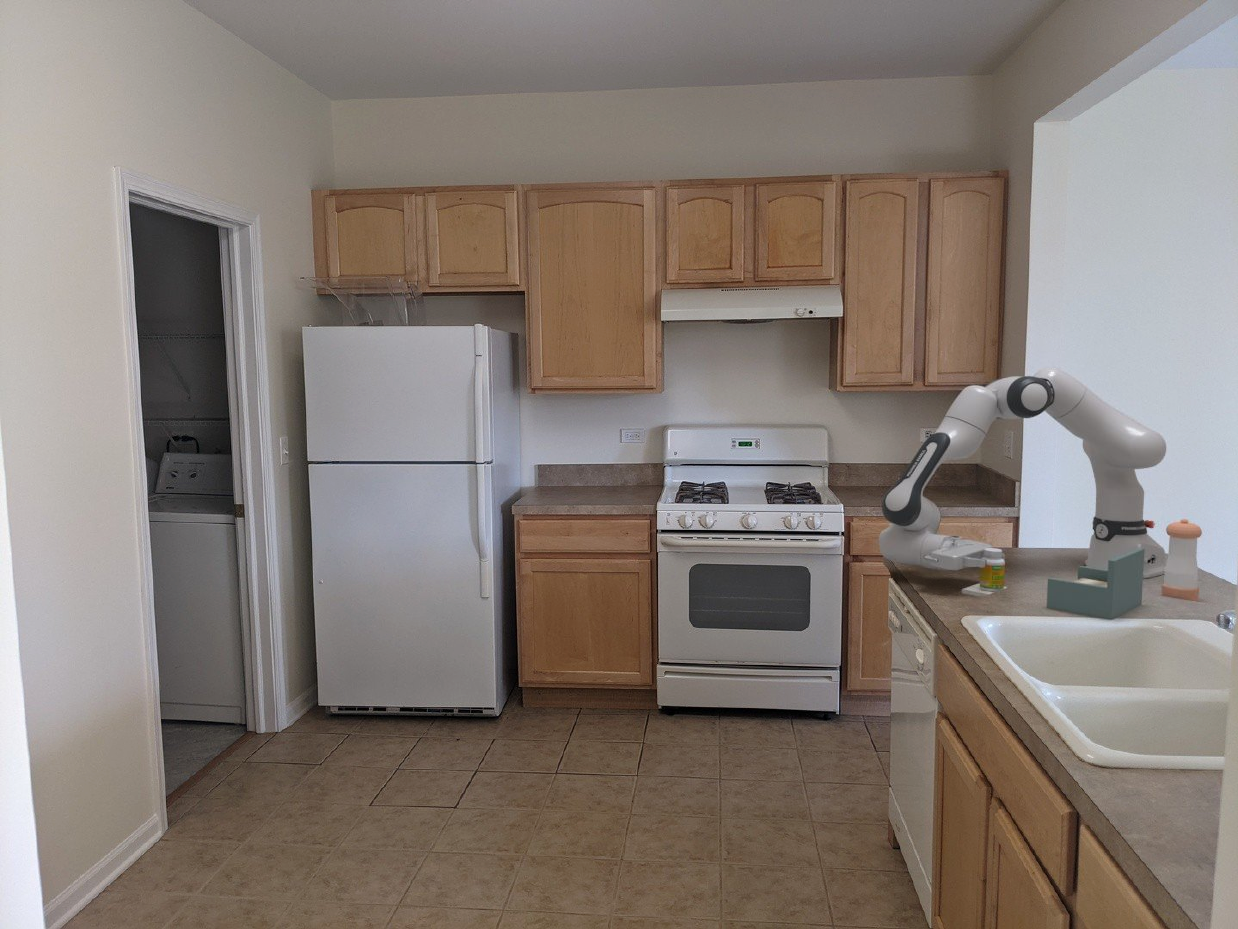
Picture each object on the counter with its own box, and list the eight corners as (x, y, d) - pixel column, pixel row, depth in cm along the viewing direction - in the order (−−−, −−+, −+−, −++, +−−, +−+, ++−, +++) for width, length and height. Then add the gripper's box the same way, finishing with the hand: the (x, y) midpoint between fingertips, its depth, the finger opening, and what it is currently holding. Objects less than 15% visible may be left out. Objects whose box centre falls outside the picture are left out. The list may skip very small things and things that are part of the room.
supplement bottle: (991, 593, 210) (993, 552, 209) (974, 588, 215) (976, 548, 214) (1008, 590, 212) (1010, 550, 211) (991, 585, 217) (992, 546, 216)
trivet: (961, 593, 214) (961, 589, 214) (980, 586, 220) (981, 582, 220) (1002, 601, 206) (1003, 596, 206) (1021, 593, 213) (1021, 589, 213)
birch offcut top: (1060, 592, 196) (1060, 585, 196) (1082, 584, 203) (1082, 578, 203) (1103, 600, 189) (1103, 593, 189) (1124, 591, 196) (1124, 585, 196)
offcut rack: (1046, 614, 195) (1049, 551, 194) (1078, 599, 207) (1081, 540, 206) (1111, 626, 185) (1114, 561, 184) (1141, 610, 198) (1144, 548, 196)
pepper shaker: (1163, 595, 211) (1168, 515, 209) (1199, 600, 206) (1205, 518, 204) (1158, 601, 205) (1163, 519, 203) (1195, 606, 201) (1201, 523, 199)
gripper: (919, 545, 215) (974, 554, 205) (959, 535, 229) (1013, 542, 219) (918, 571, 216) (973, 580, 205) (958, 559, 229) (1012, 567, 219)
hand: (994, 560), depth 212 cm, fingers open, 8 cm apart
